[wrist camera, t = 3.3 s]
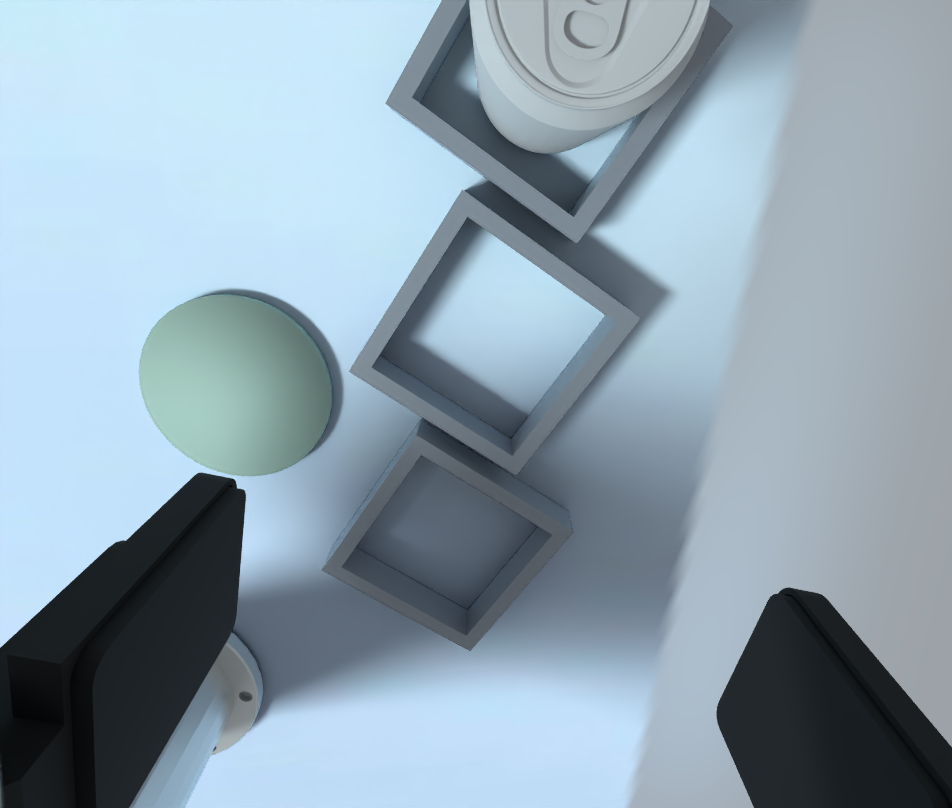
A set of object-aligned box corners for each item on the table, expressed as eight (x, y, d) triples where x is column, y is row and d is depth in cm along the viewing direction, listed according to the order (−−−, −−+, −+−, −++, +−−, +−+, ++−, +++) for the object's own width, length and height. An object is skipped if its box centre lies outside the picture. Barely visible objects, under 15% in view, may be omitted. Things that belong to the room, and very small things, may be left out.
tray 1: (570, 240, 27) (577, 243, 25) (393, 110, 25) (385, 103, 23) (712, 40, 24) (732, 25, 22) (523, -122, 22) (526, -155, 20)
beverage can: (641, 10, 24) (777, -156, 13) (597, 170, 26) (680, 150, 15) (495, -27, 24) (501, -232, 12) (463, 137, 26) (444, 92, 14)
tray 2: (514, 457, 31) (516, 475, 29) (358, 359, 29) (348, 371, 27) (629, 309, 28) (640, 318, 26) (464, 190, 26) (462, 189, 24)
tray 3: (471, 624, 35) (470, 651, 33) (332, 547, 34) (321, 570, 31) (567, 510, 32) (573, 531, 30) (421, 419, 31) (416, 435, 28)
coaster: (280, 501, 33) (276, 506, 32) (117, 410, 31) (110, 414, 30) (366, 364, 30) (364, 367, 29) (192, 254, 28) (186, 255, 27)
